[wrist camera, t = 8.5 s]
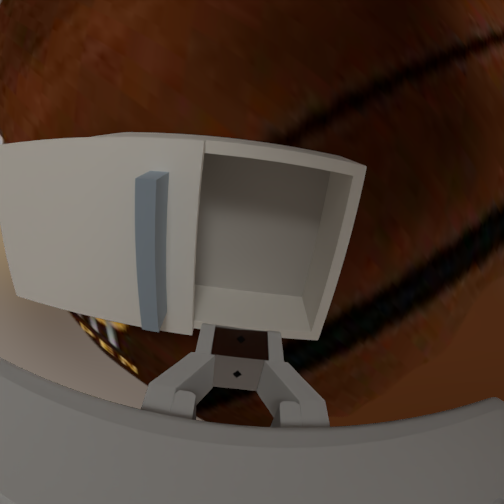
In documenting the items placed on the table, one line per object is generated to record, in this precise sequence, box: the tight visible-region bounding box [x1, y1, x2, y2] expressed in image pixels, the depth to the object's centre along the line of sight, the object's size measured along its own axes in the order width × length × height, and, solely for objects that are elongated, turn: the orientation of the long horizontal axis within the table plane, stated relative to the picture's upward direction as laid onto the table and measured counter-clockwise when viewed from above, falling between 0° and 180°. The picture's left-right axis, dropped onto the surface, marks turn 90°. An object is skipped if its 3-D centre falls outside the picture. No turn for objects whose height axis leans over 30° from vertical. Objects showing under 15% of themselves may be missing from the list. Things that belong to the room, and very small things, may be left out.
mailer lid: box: [0, 137, 206, 335], centre depth 17 cm, size 14×18×3 cm
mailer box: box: [93, 132, 367, 340], centre depth 22 cm, size 14×18×6 cm
